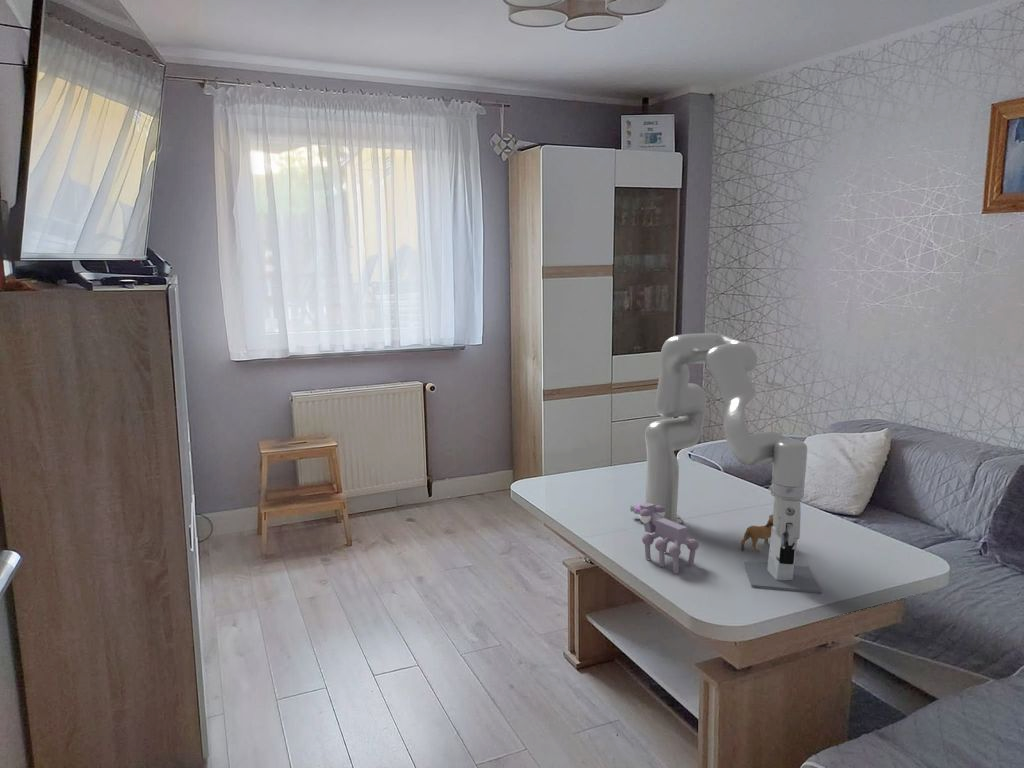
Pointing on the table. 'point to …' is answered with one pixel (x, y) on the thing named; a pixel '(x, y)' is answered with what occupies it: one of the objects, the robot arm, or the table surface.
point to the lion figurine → (758, 534)
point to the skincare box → (774, 565)
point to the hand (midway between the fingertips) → (782, 555)
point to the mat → (764, 579)
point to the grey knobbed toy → (664, 534)
